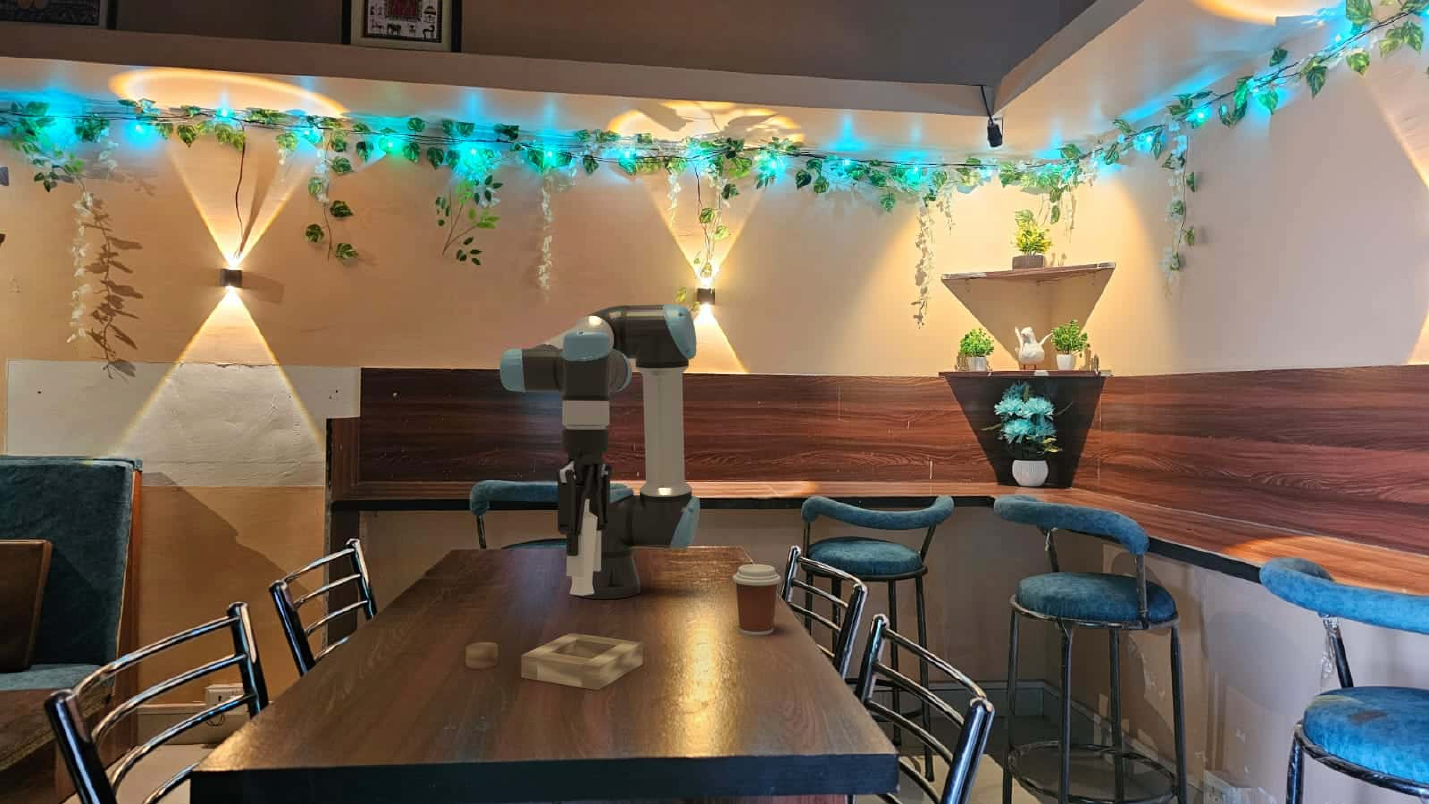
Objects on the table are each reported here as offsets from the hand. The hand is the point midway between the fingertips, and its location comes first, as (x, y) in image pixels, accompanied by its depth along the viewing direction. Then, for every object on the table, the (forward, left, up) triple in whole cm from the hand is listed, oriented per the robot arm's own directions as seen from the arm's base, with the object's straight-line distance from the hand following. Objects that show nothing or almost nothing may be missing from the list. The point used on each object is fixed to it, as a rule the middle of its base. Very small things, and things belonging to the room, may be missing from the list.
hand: (584, 572), depth 136 cm
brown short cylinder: (+4, -17, -16) cm, 24 cm away
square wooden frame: (0, 0, -16) cm, 16 cm away
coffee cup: (-34, +17, -16) cm, 41 cm away
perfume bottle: (0, 0, -3) cm, 3 cm away
